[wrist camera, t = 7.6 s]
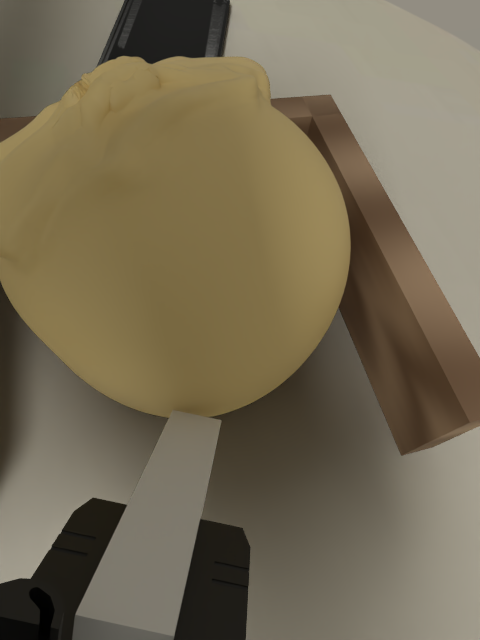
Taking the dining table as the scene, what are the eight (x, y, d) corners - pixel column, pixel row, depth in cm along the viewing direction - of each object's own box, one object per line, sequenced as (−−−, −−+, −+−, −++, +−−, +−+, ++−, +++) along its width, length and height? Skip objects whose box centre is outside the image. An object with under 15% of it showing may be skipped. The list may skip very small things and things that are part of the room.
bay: (433, 447, 18) (510, 412, 13) (-102, 591, 14) (-240, 607, 9) (307, 174, 25) (330, 94, 21) (-63, 215, 21) (-129, 128, 17)
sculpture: (178, 187, 24) (168, -53, 14) (355, 313, 21) (488, 113, 11) (-1, 315, 19) (-195, 79, 9) (195, 505, 16) (196, 432, 6)
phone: (230, -7, 34) (210, 109, 26) (229, 9, 35) (210, 125, 27) (132, -21, 33) (83, 92, 26) (133, -4, 34) (87, 109, 27)
